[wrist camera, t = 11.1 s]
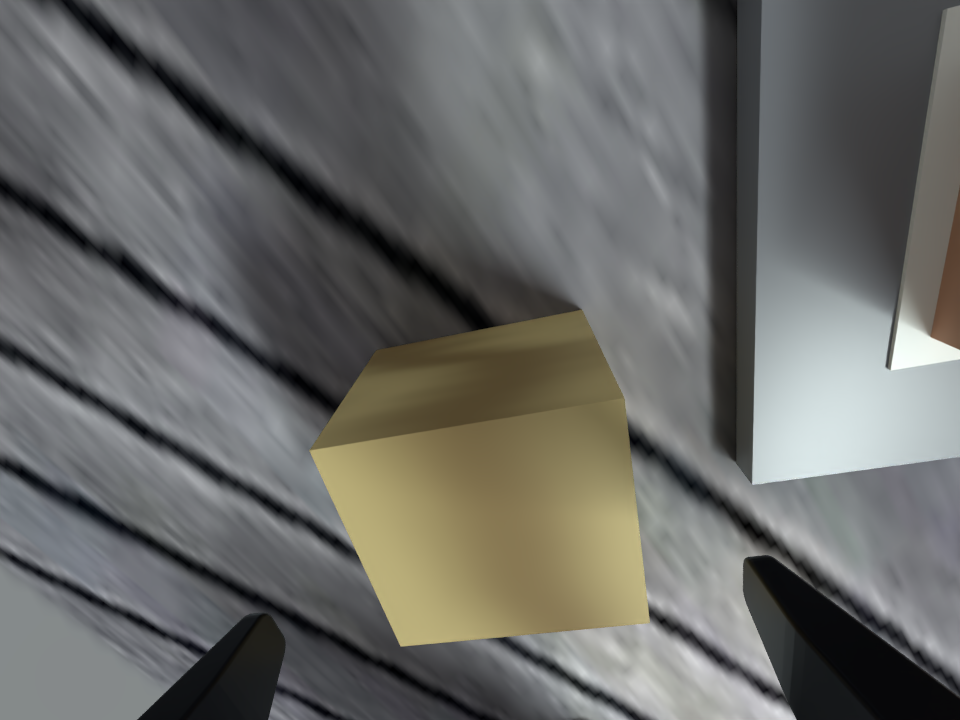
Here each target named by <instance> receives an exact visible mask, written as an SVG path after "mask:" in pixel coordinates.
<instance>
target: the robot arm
mask: <svg viewBox="0 0 960 720" xmlns="http://www.w3.org/2000/svg"><path fill="white" fill-rule="evenodd" d="M743 593H744V597H745V601H746V604H747V606H748V609H749V611H750V613H751V616H752V618H753V621H754V623H755V625H756V628H757V630H758V632H759V635H760V637H761V640H762V642H763V644H764V647H765V649H766V652H767V654H768V656H769V659H770V661H771V663H772V666H773V668H774V671H775V673H776V675H777V678H778V680H779V682H780V685H781V687H782V690H783V692H784V694H785V696H786V699H787V701H788V703H789V705H790V707H791V709H792V711H793V713H794V715H795V717H796V719H797V720H960V697H959V696H958V695H956V694H955V693H954V692H952V691H951V690H950V689H948V688H947V687H946V686H944V685H943V684H942V683H940V682H939V681H938V680H936V679H935V678H934V677H932V676H931V675H930V674H928V673H927V672H926V671H924V670H923V669H922V668H920V667H919V666H918V665H916V664H915V663H914V662H912V661H911V660H910V659H908V658H907V657H906V656H904V655H903V654H902V653H900V652H899V651H898V650H896V649H895V648H894V647H892V646H891V645H890V644H888V643H887V642H886V641H884V640H883V639H882V638H880V637H879V636H878V635H876V634H875V633H874V632H872V631H871V630H870V629H868V628H867V627H866V626H864V625H863V624H862V623H860V622H859V621H858V620H856V619H855V618H854V617H852V616H851V615H850V614H848V613H847V612H846V611H844V610H843V609H842V608H840V607H839V606H838V605H836V604H835V603H834V602H832V601H831V600H830V599H828V598H827V597H826V596H824V595H823V594H822V593H820V592H819V591H818V590H816V589H815V588H814V587H812V586H811V585H810V584H808V583H807V582H806V581H804V580H803V579H802V578H800V577H799V576H798V575H796V574H795V573H794V572H792V571H791V570H790V569H788V568H787V567H786V566H784V565H783V564H782V563H780V562H779V561H778V560H777V559H775V558H773V557H771V556H768V555H762V556H754V557H747V558H745V560H744V563H743ZM285 646H286V645H285V638H284V636H283V634H282V633H281V631H280V629H279V628H278V626H277V624H276V623H275V621H274V620H273V618H272V616H271V615H270V614H268V613H266V612H263V613H255V614H249V615H247V616H245V617H244V618H243V619H242V620H241V621H240V622H238V623H237V624H236V625H235V626H234V627H233V628H232V629H231V630H230V631H229V632H228V633H227V634H226V635H225V636H224V637H223V638H222V639H221V640H220V641H219V642H218V643H217V644H216V645H215V646H213V647H212V648H211V649H210V650H209V651H208V652H207V653H206V654H205V655H204V656H203V657H202V658H201V659H200V660H199V661H198V662H197V663H196V664H195V665H194V666H193V667H192V668H191V669H190V670H188V671H187V672H186V673H185V674H184V675H183V676H182V677H181V678H180V679H179V680H178V681H177V682H176V683H175V684H174V685H173V686H172V687H171V688H170V689H169V690H168V691H167V692H166V693H164V694H163V695H162V696H161V697H160V698H159V699H158V700H157V701H156V702H155V703H154V704H153V705H152V706H151V707H150V708H149V709H148V710H147V711H146V712H145V713H144V714H143V715H142V716H141V717H140V718H139V719H137V720H268V718H269V714H270V710H271V706H272V702H273V698H274V694H275V690H276V685H277V681H278V677H279V673H280V669H281V665H282V661H283V657H284V653H285Z"/></svg>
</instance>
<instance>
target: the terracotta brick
mask: <svg viewBox="0 0 960 720" xmlns="http://www.w3.org/2000/svg"><path fill="white" fill-rule="evenodd" d="M930 337H931V338H933V339H936V340H938V341H940V342H943V343H945V344H947V345H949V346H952V347H954V348H956V349H959V350H960V187H959V192H958V198H957V203H956V208H955V213H954V218H953V223H952V228H951V234H950V239H949V244H948V249H947V254H946V259H945V264H944V270H943V275H942V280H941V285H940V290H939V295H938V300H937V306H936V311H935V316H934V321H933V326H932V331H931V336H930Z"/></svg>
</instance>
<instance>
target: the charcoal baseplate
mask: <svg viewBox="0 0 960 720" xmlns="http://www.w3.org/2000/svg"><path fill="white" fill-rule="evenodd" d="M959 187H960V0H737V391H736V464H737V465H738V466H739V468H740V469H741V470H742V472H743V473H744V474H745V476H746V477H747V478H748V480H749V481H750V482H751V484H752V485H755V484H762V483H770V482H777V481H784V480H792V479H799V478H807V477H814V476H821V475H829V474H836V473H844V472H851V471H858V470H866V469H873V468H881V467H888V466H895V465H903V464H910V463H917V462H925V461H932V460H940V459H947V458H954V457H960V350H959V349H956V348H954V347H952V346H949V345H947V344H945V343H943V342H940V341H938V340H936V339H933V338H931V337H930V336H931V331H932V326H933V321H934V316H935V311H936V306H937V300H938V295H939V290H940V285H941V280H942V275H943V270H944V264H945V259H946V254H947V249H948V244H949V239H950V234H951V228H952V223H953V218H954V213H955V208H956V203H957V198H958V192H959Z"/></svg>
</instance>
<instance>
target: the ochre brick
mask: <svg viewBox="0 0 960 720" xmlns="http://www.w3.org/2000/svg"><path fill="white" fill-rule="evenodd" d="M309 451H310V453H311V455H312V457H313V459H314V462H315V464H316V466H317V468H318V470H319V472H320V474H321V477H322V479H323V481H324V483H325V485H326V487H327V489H328V492H329V494H330V496H331V498H332V500H333V502H334V505H335V507H336V509H337V511H338V513H339V515H340V517H341V520H342V522H343V524H344V526H345V528H346V530H347V532H348V535H349V537H350V539H351V541H352V543H353V545H354V547H355V550H356V552H357V554H358V556H359V558H360V560H361V562H362V565H363V567H364V569H365V571H366V573H367V575H368V577H369V580H370V582H371V584H372V586H373V588H374V590H375V592H376V595H377V597H378V599H379V601H380V603H381V605H382V607H383V610H384V612H385V614H386V616H387V618H388V620H389V622H390V625H391V627H392V629H393V631H394V633H395V635H396V638H397V640H398V642H399V644H400V646H401V647H402V646H413V645H423V644H434V643H444V642H455V641H465V640H476V639H487V638H497V637H508V636H518V635H529V634H539V633H550V632H560V631H571V630H582V629H592V628H603V627H613V626H624V625H634V624H645V623H650V621H649V612H648V603H647V594H646V585H645V576H644V568H643V559H642V550H641V541H640V532H639V523H638V514H637V505H636V497H635V488H634V479H633V470H632V461H631V452H630V443H629V434H628V426H627V417H626V408H625V399H624V396H623V394H622V392H621V390H620V388H619V386H618V384H617V382H616V380H615V377H614V375H613V373H612V371H611V369H610V367H609V365H608V363H607V361H606V359H605V357H604V355H603V352H602V350H601V348H600V346H599V344H598V342H597V340H596V338H595V336H594V334H593V332H592V330H591V327H590V325H589V323H588V321H587V319H586V317H585V315H584V313H583V311H582V310H578V311H573V312H568V313H563V314H558V315H552V316H547V317H542V318H537V319H532V320H527V321H522V322H517V323H512V324H507V325H502V326H497V327H492V328H487V329H482V330H476V331H471V332H466V333H461V334H456V335H451V336H446V337H441V338H436V339H431V340H426V341H421V342H416V343H411V344H405V345H400V346H395V347H390V348H385V349H380V350H376V351H375V353H374V354H373V356H372V357H371V359H370V360H369V362H368V363H367V365H366V366H365V368H364V369H363V371H362V372H361V374H360V375H359V377H358V378H357V380H356V381H355V383H354V384H353V386H352V387H351V389H350V390H349V392H348V393H347V395H346V396H345V398H344V399H343V401H342V402H341V404H340V405H339V407H338V408H337V410H336V411H335V413H334V414H333V416H332V417H331V419H330V420H329V422H328V423H327V425H326V426H325V428H324V429H323V431H322V432H321V434H320V435H319V437H318V438H317V440H316V441H315V443H314V444H313V446H312V447H311V449H310V450H309Z"/></svg>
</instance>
